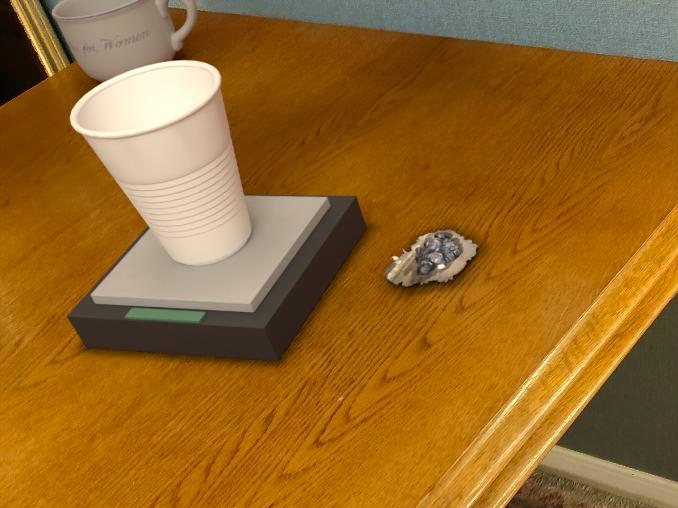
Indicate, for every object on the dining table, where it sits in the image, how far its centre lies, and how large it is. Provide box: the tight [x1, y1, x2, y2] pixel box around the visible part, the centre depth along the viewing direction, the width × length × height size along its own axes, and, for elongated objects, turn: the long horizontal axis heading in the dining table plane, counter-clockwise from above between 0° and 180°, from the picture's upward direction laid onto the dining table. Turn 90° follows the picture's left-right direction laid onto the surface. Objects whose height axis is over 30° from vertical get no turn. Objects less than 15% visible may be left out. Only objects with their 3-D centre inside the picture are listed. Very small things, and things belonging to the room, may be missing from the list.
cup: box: [69, 59, 251, 266], centre depth 68 cm, size 10×10×11 cm
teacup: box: [51, 0, 199, 83], centre depth 101 cm, size 14×11×8 cm
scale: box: [66, 193, 367, 362], centre depth 74 cm, size 16×16×4 cm
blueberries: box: [382, 229, 479, 288], centre depth 72 cm, size 7×8×2 cm
